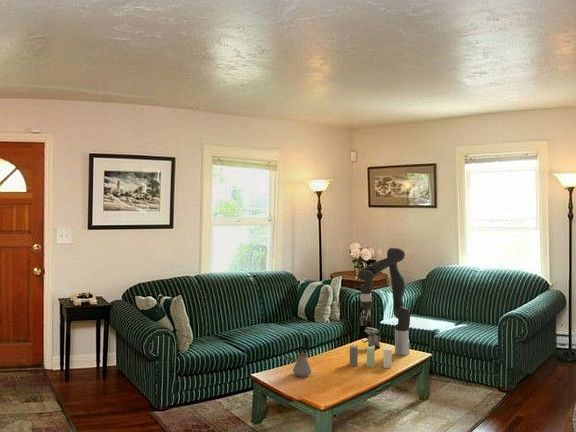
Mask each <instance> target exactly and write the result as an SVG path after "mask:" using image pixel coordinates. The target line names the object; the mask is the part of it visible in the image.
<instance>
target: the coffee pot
mask: <svg viewBox="0 0 576 432" xmlns="http://www.w3.org/2000/svg"><path fill="white" fill-rule="evenodd" d="M296 355H297V359H296V358H293V357H290V356H286V357H285V359H286V361H288V360H291V361H296V362H295V364H294V367H293V369H292V372H293V374H294V375H295V376H296V377H298V378H299V377H300V378H306V377H308V376H309V375H310V374H311V373H312V368H311V366H310V363H309V361H308V359H307V356H308V353H305V352H301V353H300V352H299V353H296Z"/></svg>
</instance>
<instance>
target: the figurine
mask: <svg viewBox="0 0 576 432" xmlns="http://www.w3.org/2000/svg"><path fill="white" fill-rule="evenodd" d="M364 332H365V333H368V334H369V335H368V336H367V339H366V340H363V339H361V341H362V343H363V344H365V343H367V346H371V347H374V348H377V349H381V346H380V345H381V344H380V341H381V335H376V334H379V333H380V332H381V331H380V329H378V328H375V327H369V326H366V327H365V329H364Z"/></svg>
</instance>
